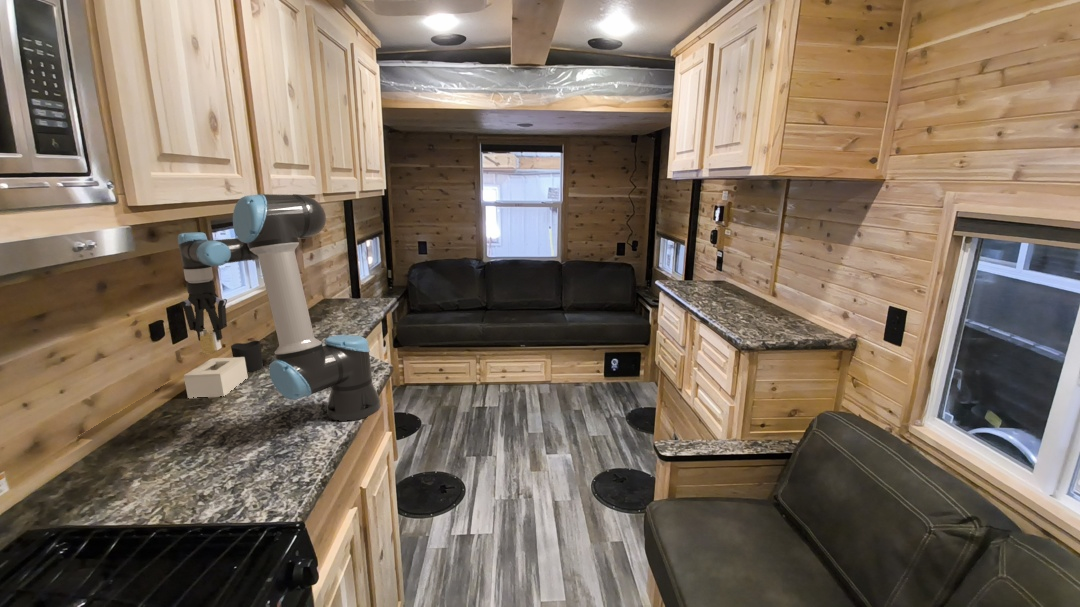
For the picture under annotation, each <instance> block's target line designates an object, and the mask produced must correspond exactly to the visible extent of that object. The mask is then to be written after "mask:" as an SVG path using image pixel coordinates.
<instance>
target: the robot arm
mask: <svg viewBox="0 0 1080 607" xmlns="http://www.w3.org/2000/svg"><path fill="white" fill-rule="evenodd" d="M326 222H327V215H326V211H325V210H324V207H323V206H322V205H321V203H319V201H317V200H316V199H315V198H312V197H310V196H308V195H304V194H296V193H295V194H294V193H293V194H271V193H270V194H268V193H267V194H263V193H261V194H260V193H258V194H253V195H244V196H242V197H240V198H239V199H238V201H237V202H236V203H235V206H234V209H233V213H232V226H233V231H234V234H235V236H237V238H224V239H223V238H222V239H213V240H208V237H207V235H206V232H205V233H204V232H199V231H198V232H182V233H179V234H178V235H177V242H178V245H177V246H178V248H179V254H180V258H181V264H182V269H183V274H184V279H185V281H186V284H185V285H186V290H187V294H188V297H187V299H186V300H183V301H180V303H179V304H180V306H181V307H182V308H183V311H184V314H185V318H186V320H187V325H188V327H189V331H194V332H196V335H197V340H198V341H199V342H201V341H200V336H201V335H203V334H205V333H207V332H208V330H207V329H206V327H205V324H204V323H205V322H204V321H205V314H204V313H205V312H204V311H206V312H207V315H208V317H209V319H210V323H211V325H212V326H211V327H212V329H213V330H211V331H212V337H213V343H214V348H215V352H217V351H218V350H220V349H222V348H223V346H222V347H221V342H222V340H223V333H222V330H223V329H225V328H227V326H228V325H227V324H228V323H227V309H226V308H227V307H226V306H227V302H228V299H226V298H220V297H218V294H217V292H216V282H215V280H214V272H213V268H212V267H220V266H223V265H226V264H231V263H232V264H233V263H239V262H245V261H256V260H258V261H259V265H260V270H261V274H262V278H263V282H264V288H265V291H266V296H267V298H268V302H269V306H270V307H269V308H270V310H271V311H270V312H271V315H272V316H271V317H272V319H273V324H274V327H275V328H274V329H275V331H276V336H277V340H278V344H279V345H278V347H277V348H276V350H275V351H274V356H275V359H274V360H273V361H272V362H270V364H269V369H268V372H269V373H268V374H269V376H270V377H269V378H270V380H271V382H272V384H273V386H274V388H275V389H276V391H278V393H280V395H281V396H283V397H284V398H286V399H287V400H292V401H294V400H299V399H302V398H303V399H304V398H306V397H307V398H308V397H310V396H311V395H313V394H316V393H318V392H321V391H324V390H326V389H330V392H329V396H328V397H329V398H328V400H327V406H326V413H327V414H326V415H327V417H328V418H329V419H330V420H333V421H337V420H339V421H338V422H348V421H347V420H352V421H358V420H361V419H365V418H368V417H370V416H372V415H374V414H376V413H377V412H378V411H379V410H380V409H381V405H382V404H381V398H380V395H379V394H378V392H377V389H376V388H375V385H374V383H373V379H372V378H373V377H372V376H373V375H372V367H371V358H370V352H371V351H370V348H369V341H368V340H367V338H365V337H363V336H359V335H352V334H351V335H350V334H344V335H343V334H342V335H341V334H340V335H333V336H329V337H327V338H325V340H324V346H323V343H322V342H323V341H321V340H319V339H317V338H316V337H315V335H314V330H313V326H312V322H311V321H312V320H311V316H310V313H309V312H310V311H309V309H308V304H307V300H306V296H305V290H304V286H303V282H302V277H301V274H300V269H299V268H300V267H299V265H298V260H297V255H296V249H297V247H299V245H300V242H299V240H301V239H310V238H311V237H314V236H316V235H318V234H319V233H321V232H322V231H323V229H324V228H325V225H326ZM216 305H217V307H216ZM193 306H194V307H193ZM216 309H217V310H216ZM220 340H221V342H220ZM216 350H217V351H216Z"/></svg>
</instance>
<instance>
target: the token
mask: <svg viewBox="0 0 1080 607" xmlns="http://www.w3.org/2000/svg"><path fill="white" fill-rule="evenodd" d="M212 331H213V330H209V331H207V333H205V334H203V335H201V336H200V341H199V342H200V346H201V350H202V354H204V355H205V354H214V353H215V352H217V351H218V350H216V351H215V348H214V343H213V337H212ZM220 342H221V347H222V348H223V342H222V339H221V340H220Z"/></svg>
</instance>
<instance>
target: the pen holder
mask: <svg viewBox="0 0 1080 607" xmlns="http://www.w3.org/2000/svg"><path fill="white" fill-rule="evenodd" d="M230 351H231V353H232V358H233V357H245V363H246V369H247V374H249V373H248V372H251V373H255V372H257V370H258V371H261V370H262V369H261V368H264V367H263V366H264V365H263V354H262V352H263V351H262V344H261V341H259V340H252V341H250V342H245V343H241V342H237V343H234V344H231V346H230ZM254 371H255V372H254Z"/></svg>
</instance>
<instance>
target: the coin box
mask: <svg viewBox="0 0 1080 607" xmlns="http://www.w3.org/2000/svg"><path fill="white" fill-rule="evenodd" d="M183 379H184V384H185V390H186V394H187V399H188V398H189V399H198V398H197V397H208V398H220V396H222V397H223V396H224V397H225V395H226V396H227V395H228V394H230V393H231V392H232V391H233V390H234V388H235V387H236V386H237V387H239V386H240V385H241V384H242V383H244V382H245V381H246V380H247V379H249V376H248V373H247V369H246V363H245V357H233V356H232V357H216V358H212V357H211V358H210V359H209V360H207V361H205V362H204V363H202V364H200V365H198V366H196V367H195V368H193V369H192V370H190V371H189V372H187V373H185V374H183ZM245 379H246V380H245ZM244 380H245V381H244ZM243 381H244V382H243ZM240 383H241V384H240ZM239 384H240V385H239ZM237 387H236V388H237ZM236 388H235V389H236ZM231 390H232V391H231ZM230 391H231V392H230ZM193 397H194V398H193ZM222 397H221V398H222Z"/></svg>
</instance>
